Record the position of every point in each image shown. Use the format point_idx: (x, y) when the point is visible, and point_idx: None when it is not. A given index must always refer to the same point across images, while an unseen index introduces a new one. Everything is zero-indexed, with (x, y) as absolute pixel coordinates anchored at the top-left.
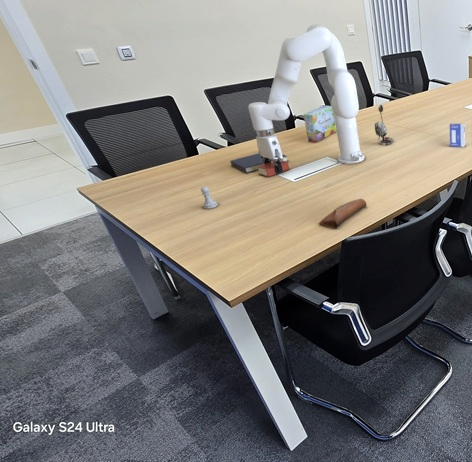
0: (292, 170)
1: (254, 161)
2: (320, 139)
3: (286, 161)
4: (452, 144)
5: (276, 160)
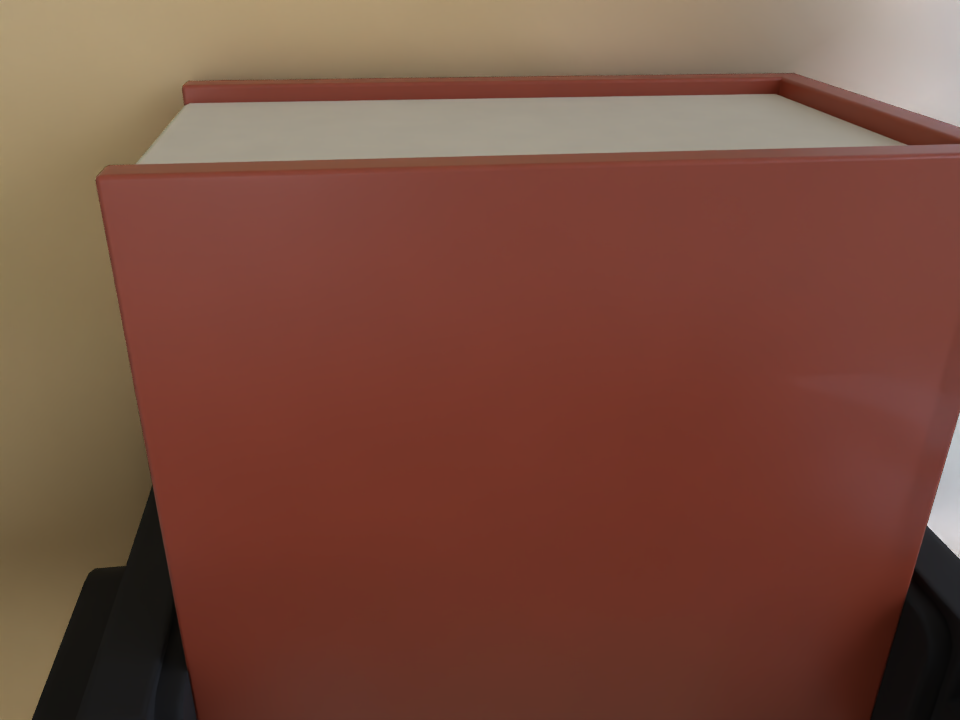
0: (952, 65)
1: None
2: None
3: (923, 161)
4: None
5: (220, 414)
